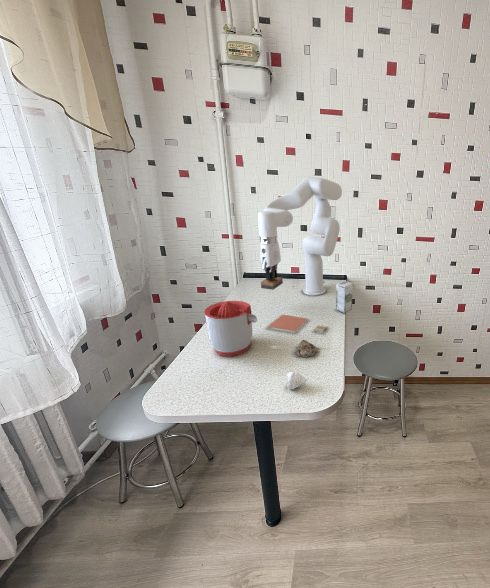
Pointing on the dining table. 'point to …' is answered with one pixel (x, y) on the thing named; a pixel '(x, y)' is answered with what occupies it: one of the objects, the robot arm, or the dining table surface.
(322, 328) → the cork chip
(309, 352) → the mineral rock
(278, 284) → the brush
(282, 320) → the tile
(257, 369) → the dining table surface
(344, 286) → the syrup box
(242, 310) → the citrus juicer
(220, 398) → the dining table surface
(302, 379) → the garlic bulb
